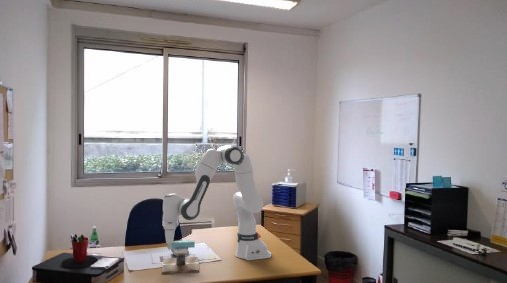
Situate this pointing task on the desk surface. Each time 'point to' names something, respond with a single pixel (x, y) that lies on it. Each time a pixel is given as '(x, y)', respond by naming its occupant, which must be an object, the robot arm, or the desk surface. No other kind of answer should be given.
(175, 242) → the coupling
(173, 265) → the beige square tray
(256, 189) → the robot arm
